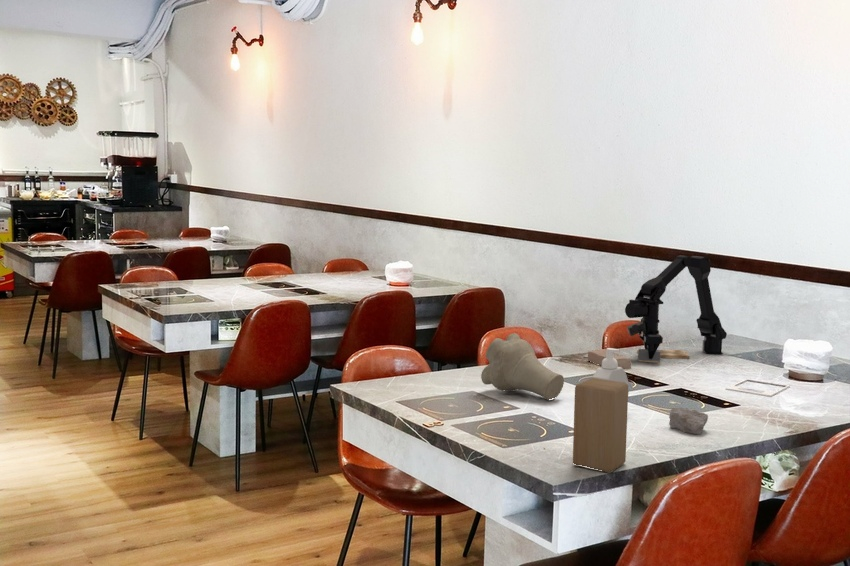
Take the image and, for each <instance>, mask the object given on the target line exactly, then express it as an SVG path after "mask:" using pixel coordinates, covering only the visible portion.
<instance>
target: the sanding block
mask: <svg viewBox="0 0 850 566" xmlns="http://www.w3.org/2000/svg"><path fill="white" fill-rule="evenodd" d="M637 349H638V353H637V362H647V363H648V362H649V363H660V362H661V358H660V350H661V349H657V350H656V352H655V354H654V356H653V358H652V359H649V355H648V349H645V348H637Z"/></svg>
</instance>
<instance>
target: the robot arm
mask: <svg viewBox="0 0 850 566" xmlns="http://www.w3.org/2000/svg"><path fill="white" fill-rule="evenodd" d="M686 267H687V269H688V273H689V274H690V276H691V277H692V278H693V279H694V283H695V289H696V293H697V295H696V296H697V299H698V305H699V309H700V315H699V318H696V323H697V329H699V331H700V336H701V337H703V340H702V352H704V353H705V354H706V355H712V354H713V355H723V354H724V352H723V351H722V349H723V340H724V339H726V338H727V331H726V330H725V329H724V327H722V322H721V320H720V317H719V316H718V314H717V313H716V312H715V309H714V304H713V299H712V292H711V288H710V287H711V286H710V282H709V275H710V273H711V271H712V270H711V269H712V268H711V261H710V258H708V257H705V256H697V255H691V256H688V255H677V256H675V258H674V260H673V261H671V262H670V263H669V265H667V266H666V267H665V268H664V269H663V270H662V271H661V272H660V273H659V274H658V275H657V276H656V277H653V278H651V279H649V280H647V281H645V282H644V283H643V284H642V285H641V287H640V290H639V291H638V293H637V295H636V296H635V298H634V299H629V300H628V303H627V304H626V305H625V308H624V312H625V315H626V317H627V318H628V319H634V318H636V319H637V318H641V319H640V321H639V322H635V323H633V324H630V325H627V326H626V328H627V332H628V335H630V336H631V337H633V336H635V335H638V337H639V339H641V340H642V342H643V347H644V348H643V349H648V355H649V359H652V358H653V356H654V354H655V352H656V350H658V349H659V347H660V345H661V344H663V341H664V340H663V339H664V337H663V336H662V335H661V334H660V330H659V324H660V318H659V313H660V312H659V311H660V305H664V301H663V300H661V297H662V296H663V295H664V294H665V292H666V290H667V286H668V285H669V284H670V283H671V282H672V281H673V280H674V279H675V278H676V277H677V276H678V275H679V274H681V272H682V271H683V270H684V269H685V268H686Z"/></svg>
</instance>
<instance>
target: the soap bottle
mask: <svg viewBox="0 0 850 566" xmlns="http://www.w3.org/2000/svg"><path fill="white" fill-rule="evenodd" d="M606 350H607V352H606V358H604V359H603V361H602V366H600V367H598V368H596V370H595V372H594V374H593V375H592V377H591V378H597V379H604V380H611V381H618V382H624V383H626V384H628V385H629V380H628V376H627V373H626V371H625V369H623V368H622V367H618V362H617V360H616V359H614V353H620V351H621V350H620V349H618V348H612V347H607V348H606ZM629 390H630V388H628V394H630V393H629Z"/></svg>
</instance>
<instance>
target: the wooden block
mask: <svg viewBox="0 0 850 566" xmlns="http://www.w3.org/2000/svg"><path fill="white" fill-rule="evenodd" d="M628 389H629V383H628V384H626V383H624V382H618V381H611V380H604V379H597V378H592V377H591V378H589V379H587V380H584V381H582V382H580V383H577V384H576V385H575V386H574V407H573V409H574V413H573V439H572V440H573V441H572V443H573V444H572V464H573V463H574V464H576V465H582V466H587V467H590V468H594V469H598V470H602V471H605V472H604V473H606V472H610V473H612V472H614V471H615V470H617V469H618V468H620V467H621V466H623V465H624V464H625V463H626V460H627V459H626V458H627V455H626V454H627V434H628V432H627V429H628V408H629V407H628V403H629V393H628ZM622 464H623V465H622ZM619 466H620V467H619ZM617 467H618V468H617ZM616 468H617V469H616ZM613 470H614V471H613ZM602 471H601V472H602Z"/></svg>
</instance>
